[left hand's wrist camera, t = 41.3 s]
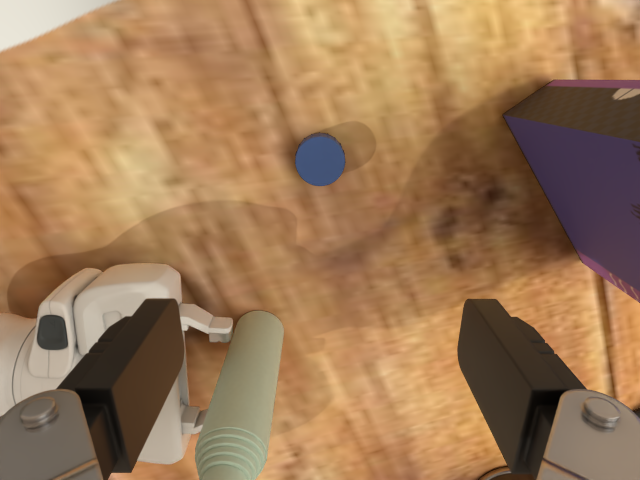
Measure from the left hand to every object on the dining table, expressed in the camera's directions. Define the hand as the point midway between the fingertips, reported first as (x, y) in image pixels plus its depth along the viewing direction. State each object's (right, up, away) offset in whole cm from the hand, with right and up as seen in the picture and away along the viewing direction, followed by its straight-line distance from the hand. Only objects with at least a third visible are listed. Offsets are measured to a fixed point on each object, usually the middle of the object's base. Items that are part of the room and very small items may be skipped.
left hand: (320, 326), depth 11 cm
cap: (0, +9, +23) cm, 25 cm away
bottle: (-6, -7, +32) cm, 33 cm away
